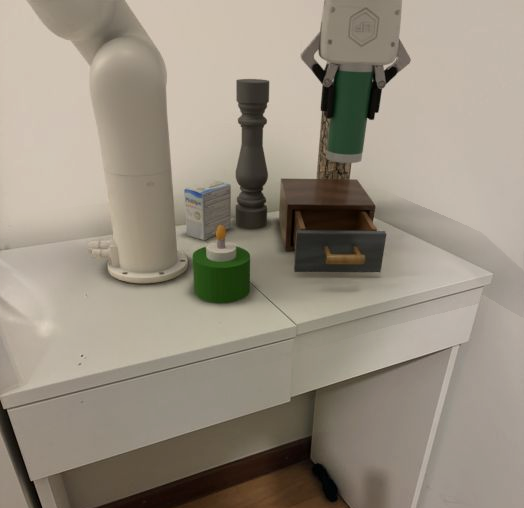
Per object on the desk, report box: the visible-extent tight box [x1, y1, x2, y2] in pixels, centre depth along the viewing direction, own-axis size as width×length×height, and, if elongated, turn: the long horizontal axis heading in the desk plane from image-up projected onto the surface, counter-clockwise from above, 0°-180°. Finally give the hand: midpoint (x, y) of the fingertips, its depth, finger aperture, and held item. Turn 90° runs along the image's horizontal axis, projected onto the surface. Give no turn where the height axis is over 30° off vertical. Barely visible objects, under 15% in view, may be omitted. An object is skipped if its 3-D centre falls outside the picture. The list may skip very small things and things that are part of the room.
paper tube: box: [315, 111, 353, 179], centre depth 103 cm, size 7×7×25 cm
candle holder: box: [235, 78, 270, 230], centre depth 95 cm, size 6×6×25 cm
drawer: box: [292, 209, 388, 273], centre depth 83 cm, size 20×14×6 cm
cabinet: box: [278, 178, 376, 252], centre depth 95 cm, size 16×15×8 cm
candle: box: [191, 225, 251, 304], centre depth 74 cm, size 8×8×10 cm
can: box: [326, 63, 374, 164], centre depth 74 cm, size 5×5×13 cm
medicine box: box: [183, 179, 232, 241], centre depth 94 cm, size 8×4×9 cm, turn 144°
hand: (348, 116), depth 74 cm, fingers closed on can, 5 cm apart
